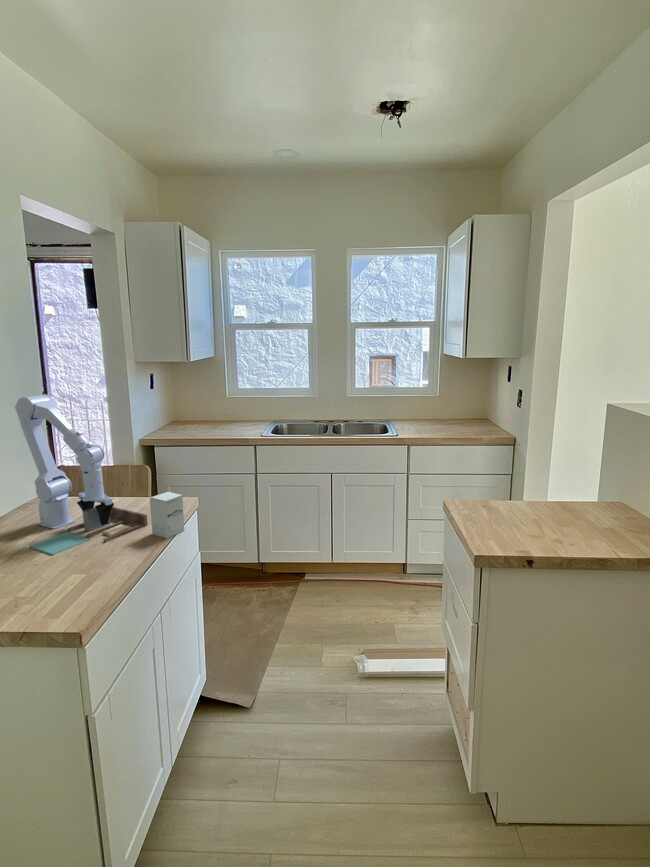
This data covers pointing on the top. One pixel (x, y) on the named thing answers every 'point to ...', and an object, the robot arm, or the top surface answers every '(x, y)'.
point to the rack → (121, 515)
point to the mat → (59, 543)
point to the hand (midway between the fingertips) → (97, 522)
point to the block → (92, 520)
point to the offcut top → (115, 530)
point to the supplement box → (167, 514)
